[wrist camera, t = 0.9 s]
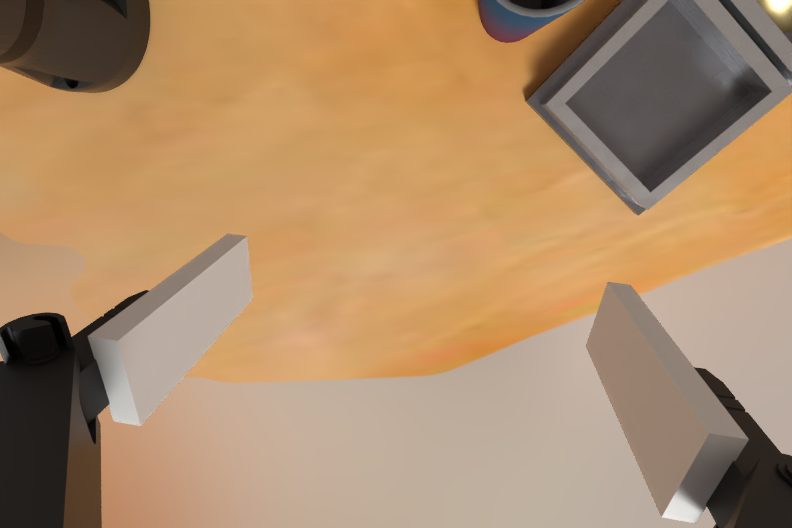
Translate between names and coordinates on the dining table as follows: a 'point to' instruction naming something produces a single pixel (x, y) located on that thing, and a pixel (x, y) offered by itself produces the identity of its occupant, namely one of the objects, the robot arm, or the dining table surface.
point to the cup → (520, 16)
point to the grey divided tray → (667, 88)
